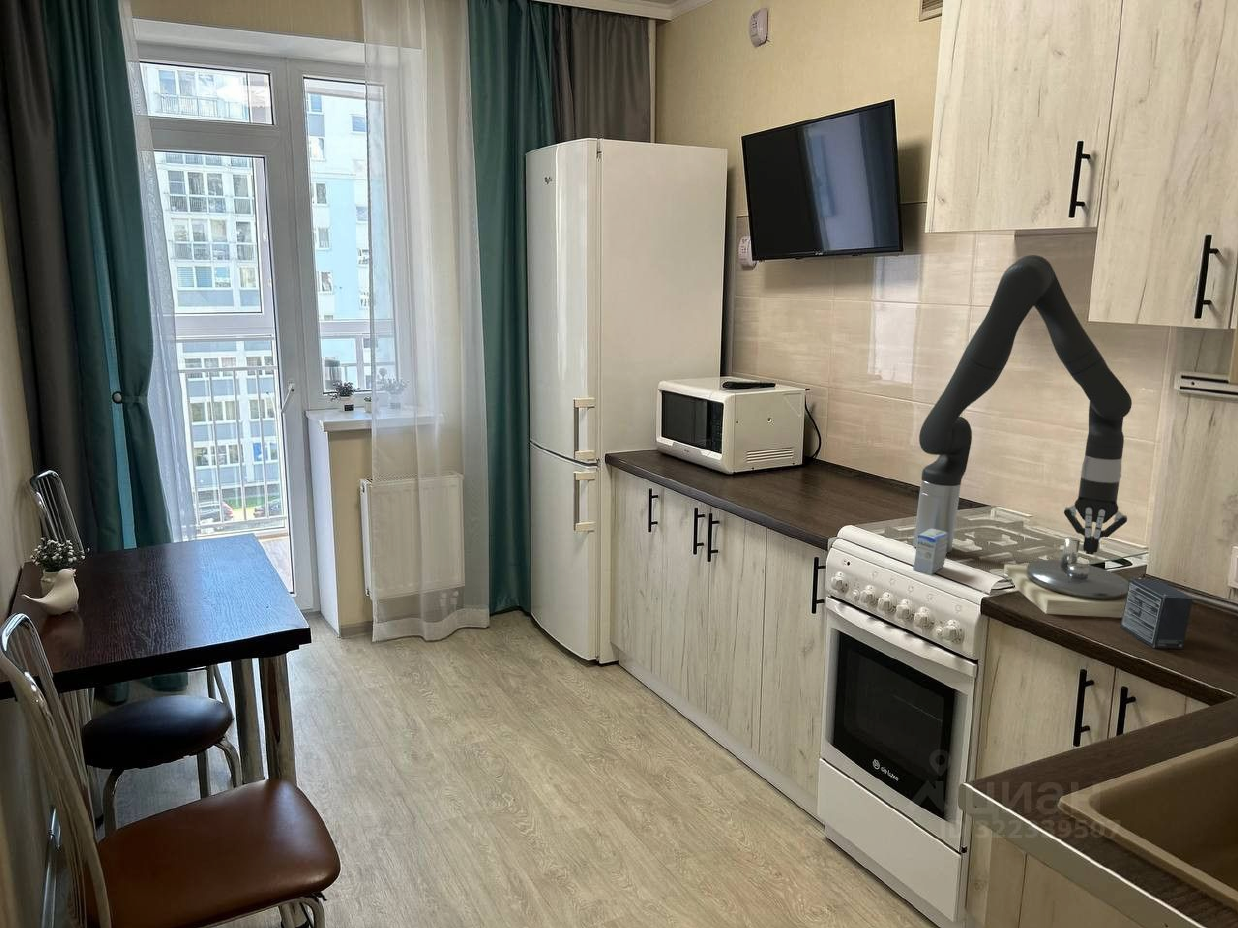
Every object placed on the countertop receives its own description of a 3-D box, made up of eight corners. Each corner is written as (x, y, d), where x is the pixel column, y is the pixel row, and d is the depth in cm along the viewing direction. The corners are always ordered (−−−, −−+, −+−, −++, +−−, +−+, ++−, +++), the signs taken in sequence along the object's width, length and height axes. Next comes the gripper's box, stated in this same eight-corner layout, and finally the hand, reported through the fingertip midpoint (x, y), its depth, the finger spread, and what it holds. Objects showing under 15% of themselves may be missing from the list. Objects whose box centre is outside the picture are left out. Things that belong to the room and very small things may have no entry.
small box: (1185, 650, 171) (1196, 597, 169) (1153, 649, 171) (1163, 597, 168) (1149, 627, 182) (1159, 578, 179) (1118, 627, 181) (1127, 577, 179)
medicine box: (925, 562, 215) (930, 527, 213) (944, 567, 212) (949, 532, 210) (912, 570, 209) (917, 534, 207) (931, 575, 206) (936, 539, 204)
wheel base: (1002, 576, 207) (1004, 564, 207) (1098, 582, 207) (1100, 569, 207) (1045, 613, 186) (1048, 600, 185) (1152, 619, 186) (1155, 605, 185)
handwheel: (1142, 604, 184) (1149, 569, 183) (1037, 592, 188) (1043, 557, 187) (1112, 572, 204) (1117, 540, 202) (1017, 562, 207) (1022, 530, 206)
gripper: (1065, 476, 197) (1055, 552, 201) (1134, 484, 191) (1123, 563, 194) (1068, 470, 203) (1058, 544, 207) (1135, 477, 197) (1124, 554, 200)
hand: (1089, 553), depth 201 cm, fingers closed
